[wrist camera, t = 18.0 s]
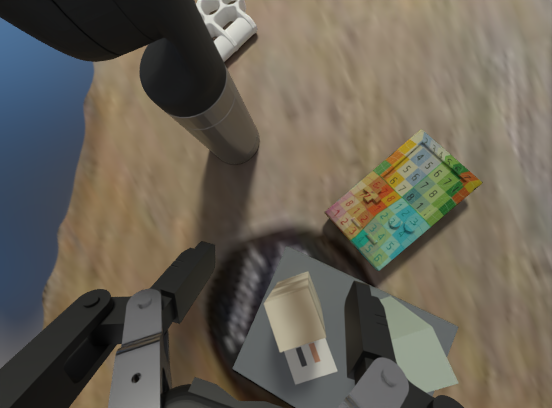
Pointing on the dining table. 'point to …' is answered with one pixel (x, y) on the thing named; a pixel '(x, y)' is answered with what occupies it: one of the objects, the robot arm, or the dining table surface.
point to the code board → (319, 354)
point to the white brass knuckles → (226, 13)
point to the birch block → (295, 312)
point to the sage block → (417, 348)
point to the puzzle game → (401, 199)
